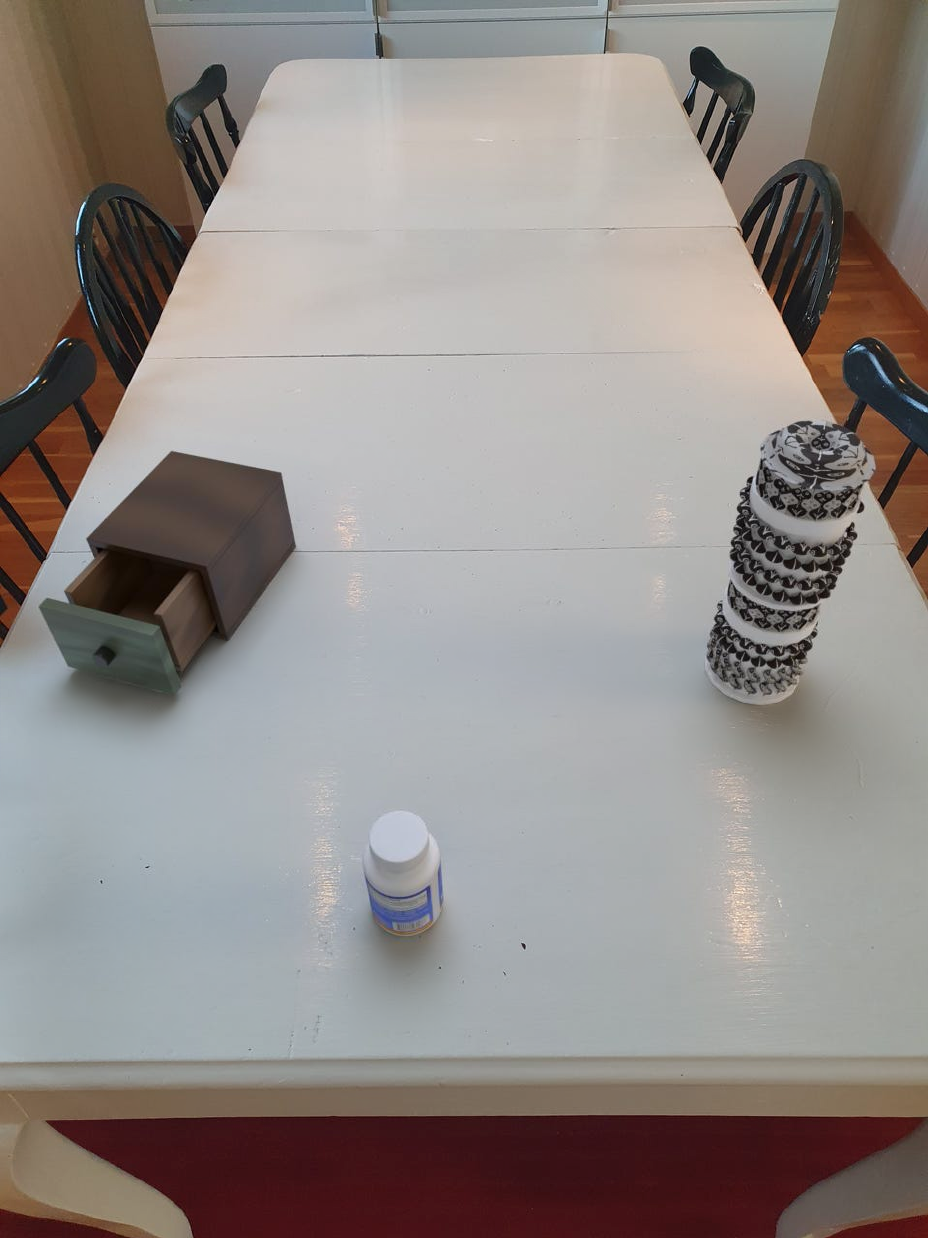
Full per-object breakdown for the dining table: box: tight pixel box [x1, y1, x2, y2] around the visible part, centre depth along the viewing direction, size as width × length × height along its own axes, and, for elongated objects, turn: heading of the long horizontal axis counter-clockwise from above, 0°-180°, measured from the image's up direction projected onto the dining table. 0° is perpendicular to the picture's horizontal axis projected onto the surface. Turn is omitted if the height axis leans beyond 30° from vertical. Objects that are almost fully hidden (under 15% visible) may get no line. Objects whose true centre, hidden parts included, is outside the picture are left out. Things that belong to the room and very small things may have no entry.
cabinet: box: [85, 450, 297, 641], centre depth 90 cm, size 15×13×10 cm
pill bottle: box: [361, 810, 444, 937], centre depth 64 cm, size 5×5×10 cm
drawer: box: [38, 549, 217, 696], centre depth 84 cm, size 15×11×8 cm
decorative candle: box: [704, 419, 877, 706], centre depth 74 cm, size 9×9×25 cm
